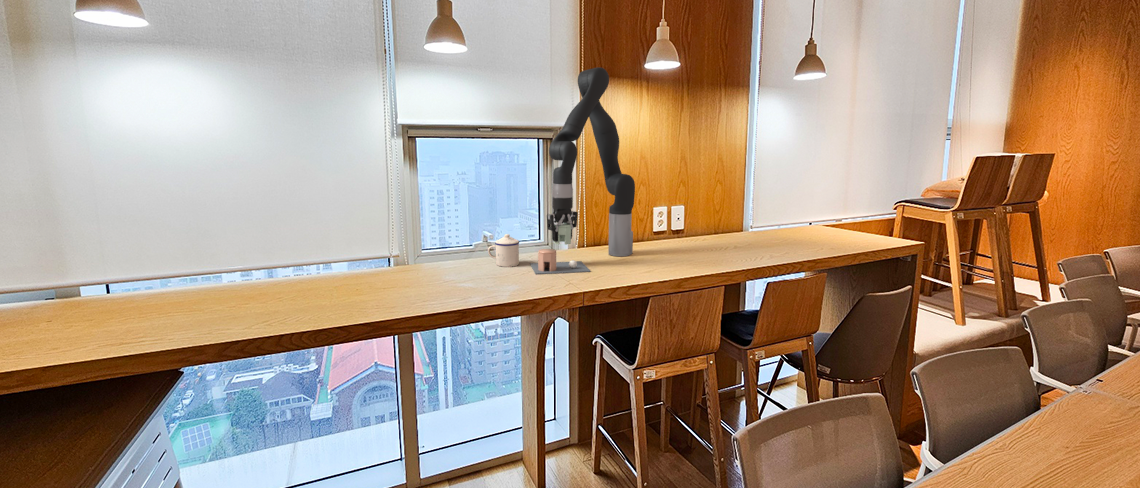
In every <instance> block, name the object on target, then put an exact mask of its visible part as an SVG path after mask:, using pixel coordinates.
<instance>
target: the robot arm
mask: <svg viewBox="0 0 1140 488" xmlns="http://www.w3.org/2000/svg"><path fill="white" fill-rule="evenodd" d="M609 82H610V75H609V73H608V71H607V70H606V69H605V68H604V67H602V66H601V67H594V68H592V67H591V68H588V69H584V70H582V71H581V72H579V74H578V76H577V86H578V90H579V93H580V96H581V100H579V102H578V103H577V104H576V105H575V106H574V108H573V109H571V111H570V112H569V114H568V116H567V118H566V120H565V122H564V125H563V127H562V129H561V130H560V131H559V132H558V133H557V135H556V136H555V137H554V138H553V139H552V141H551V143H550V144H549V149H548V154H549V156H550V158H551V159H552V160H553V161H562V162H561V165H560V166H559V167H555V168H554V169H553V173H552V174H553V175H552V176H553V177H552V179H553V180H552V181H553V182H552V183H553V184H552V185H553V186H552V205H551V206H552V209H553V212H552V213H548V214H546V224H547V230H549V231H551V232H552V233H551V234H552V235H551V237H552V238H551V239H552V241H553V242H554V241H555V242H557V241H558V232H557V231H558V227H559V226H561V224H562V223H564V224H571V240H572V238H573V229H574V228H576V227H577V226H578V216H579V215H578V214H579V213H578V211H576V210H572V209H573V204H574V203H573V201H574V200H573V199H574V195H573V194H574V189H573V173H574V172H573V171H574V167H575V164H576V161H577V158H578V157H577V156H578V149H577V148H578V147H577V145H576V144H575V143H574V142H575V141H577V140H579V139H580V137H581V134H582V133H583V130H584V128H585V126H586V124H587V121H588V119H589V122H590V125H591V127H592V128H591V129H592V133H593V136H594V141H595V144H596V146H597V149H598V154H599V158H600V161H601V165H602V170H603V175H604V182H605V187H606V189H607V190H606V191H608V193H609V194H610V195H611V196H614V199H613V200H614V202H613V204H611V205H609V208H608V252H607V253H608V256H609V255H610V256H613V257H628V256H630V255H633V250H634V249H633V247H634V246H633V245H634V231H633V230H632V219H633V218H632V215H633V208H634V204H635V193H636V183H635V180H634V178H633V176H631V175H630V174H627V173H622V170H621V168H620V164H619V149H620V136H619V132H618V129H617V125H616V123H615V121H614V119H613V118H612V117H611V115H610V114H609V113H608V112H607V111H606V110H605V109H604V107H603V105H602V104H601V100H600V99H601V98H602V96H603V95H604V94H605V92H606V90H607V88H608V87H609V84H610V83H609ZM555 225H556V228H555Z"/></svg>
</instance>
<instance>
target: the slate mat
mask: <svg viewBox="0 0 1140 488" xmlns="http://www.w3.org/2000/svg"><path fill="white" fill-rule="evenodd" d="M575 261H576V260H575ZM569 262H570V261H556V270H555V271H551V272H550V268H544V271H539V270H538V262H530V263H529V265H530V267H531V269H532V270H533V272H534V274H535V275H548V274H549V275H552V274H553V275H554V274H573V273H574V274H575V273H576V274H577V273H591V272H592V271H591V269H590V268H588V266H587V265H586V264H585V263H584V262H583V261H582V260H577V261H576V262H577V266H576V267H575V268H570V267H569Z"/></svg>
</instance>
